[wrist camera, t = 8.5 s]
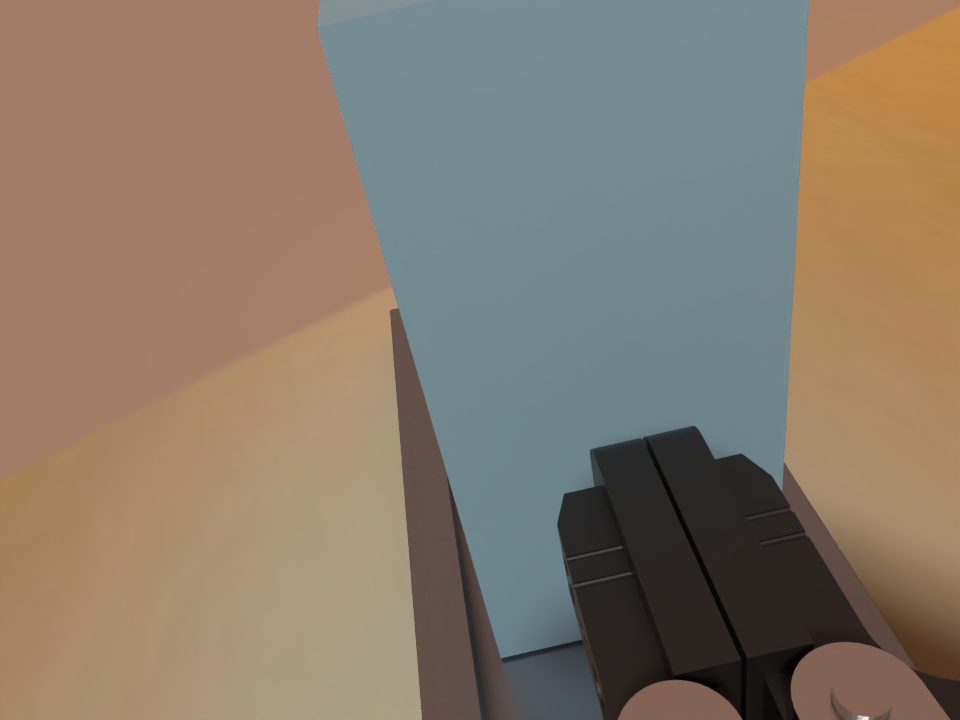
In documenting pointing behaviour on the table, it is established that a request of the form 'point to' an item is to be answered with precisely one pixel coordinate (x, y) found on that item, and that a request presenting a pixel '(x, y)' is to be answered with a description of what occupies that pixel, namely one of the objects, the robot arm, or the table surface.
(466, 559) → the rail plate
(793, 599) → the robot arm
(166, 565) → the table surface
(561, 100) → the grey blue block
